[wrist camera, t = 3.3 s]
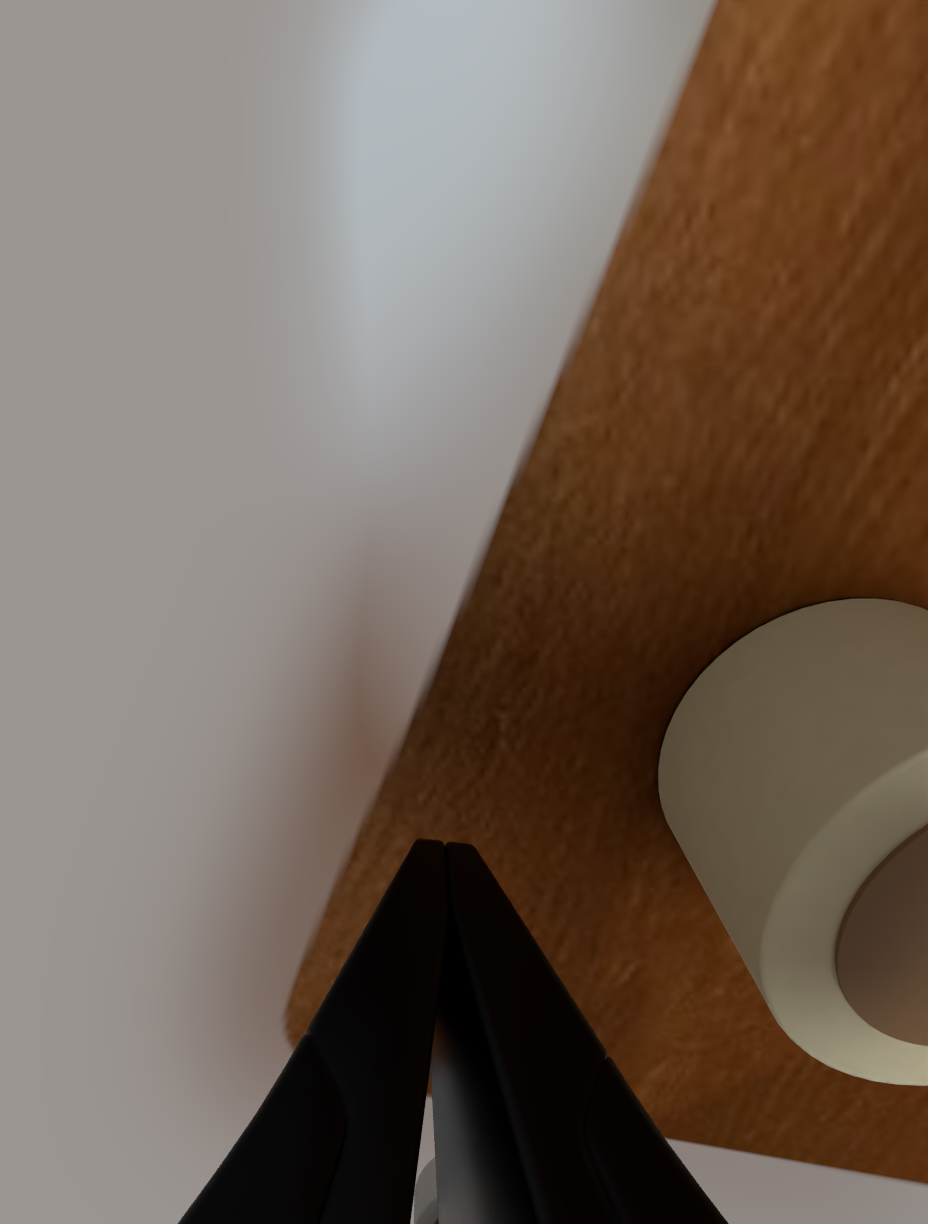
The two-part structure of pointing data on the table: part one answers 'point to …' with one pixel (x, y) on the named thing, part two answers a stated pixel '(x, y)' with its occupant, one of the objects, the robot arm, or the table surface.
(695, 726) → the tape
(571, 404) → the table surface
